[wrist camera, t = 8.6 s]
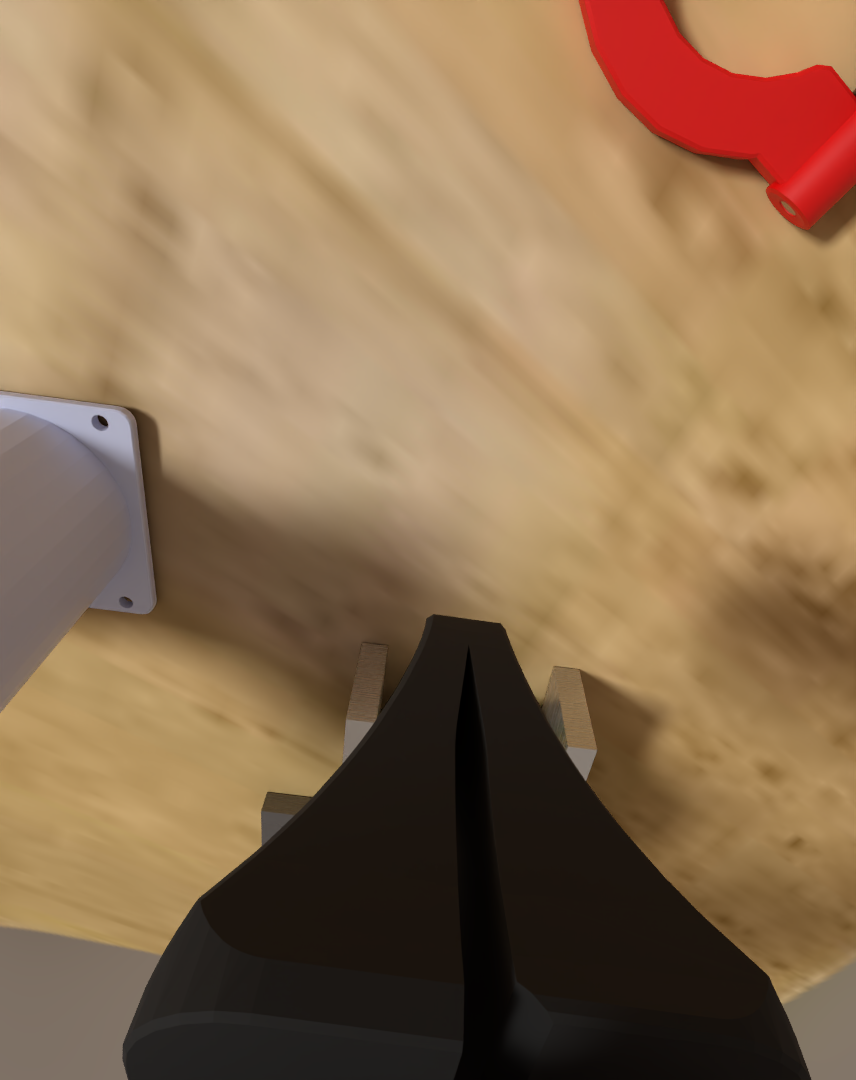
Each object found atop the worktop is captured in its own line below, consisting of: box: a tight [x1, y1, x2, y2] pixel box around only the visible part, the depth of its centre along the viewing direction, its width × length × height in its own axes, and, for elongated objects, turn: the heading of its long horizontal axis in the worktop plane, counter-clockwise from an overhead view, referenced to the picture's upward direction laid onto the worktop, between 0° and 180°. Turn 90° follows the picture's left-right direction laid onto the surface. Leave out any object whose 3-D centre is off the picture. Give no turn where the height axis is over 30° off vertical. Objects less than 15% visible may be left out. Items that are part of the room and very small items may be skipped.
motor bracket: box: [261, 643, 597, 846], centre depth 27 cm, size 16×16×6 cm
